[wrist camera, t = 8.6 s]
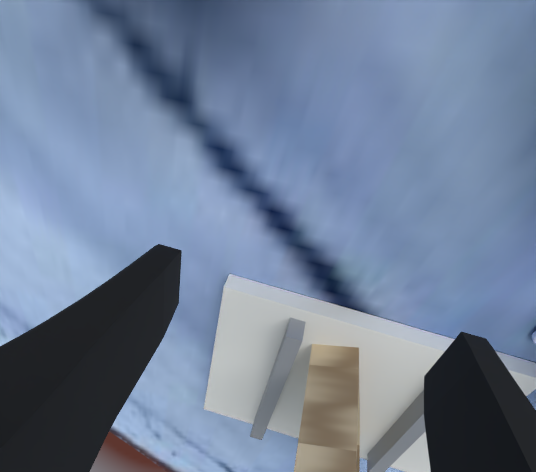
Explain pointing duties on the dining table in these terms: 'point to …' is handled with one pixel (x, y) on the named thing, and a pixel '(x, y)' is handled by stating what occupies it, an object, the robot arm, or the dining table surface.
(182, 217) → the dining table surface
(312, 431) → the wooden frame
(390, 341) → the white board with bars
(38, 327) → the robot arm
